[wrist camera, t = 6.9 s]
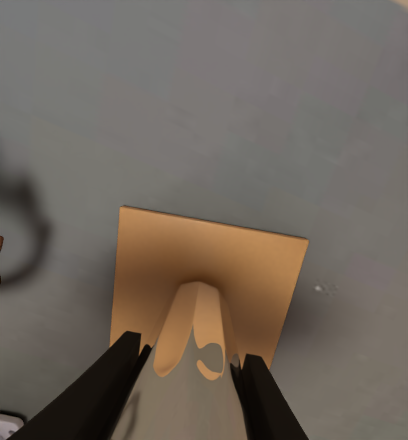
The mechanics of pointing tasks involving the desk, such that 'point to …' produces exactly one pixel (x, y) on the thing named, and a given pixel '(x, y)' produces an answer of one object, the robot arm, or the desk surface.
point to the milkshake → (185, 376)
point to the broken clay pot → (0, 242)
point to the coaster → (204, 274)
